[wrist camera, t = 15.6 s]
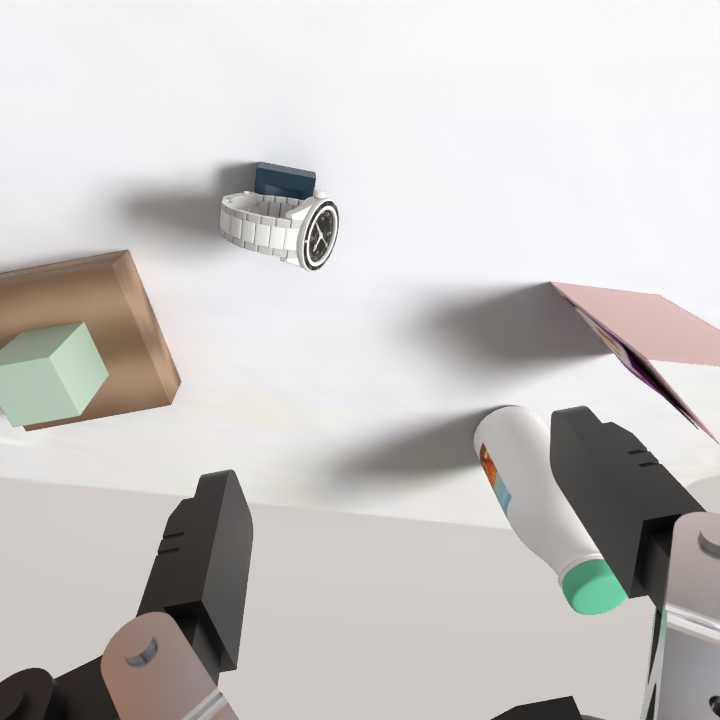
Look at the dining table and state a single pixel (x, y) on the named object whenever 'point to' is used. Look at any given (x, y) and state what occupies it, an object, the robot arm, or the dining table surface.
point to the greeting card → (646, 334)
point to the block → (49, 374)
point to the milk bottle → (543, 507)
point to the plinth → (96, 328)
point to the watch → (282, 217)
